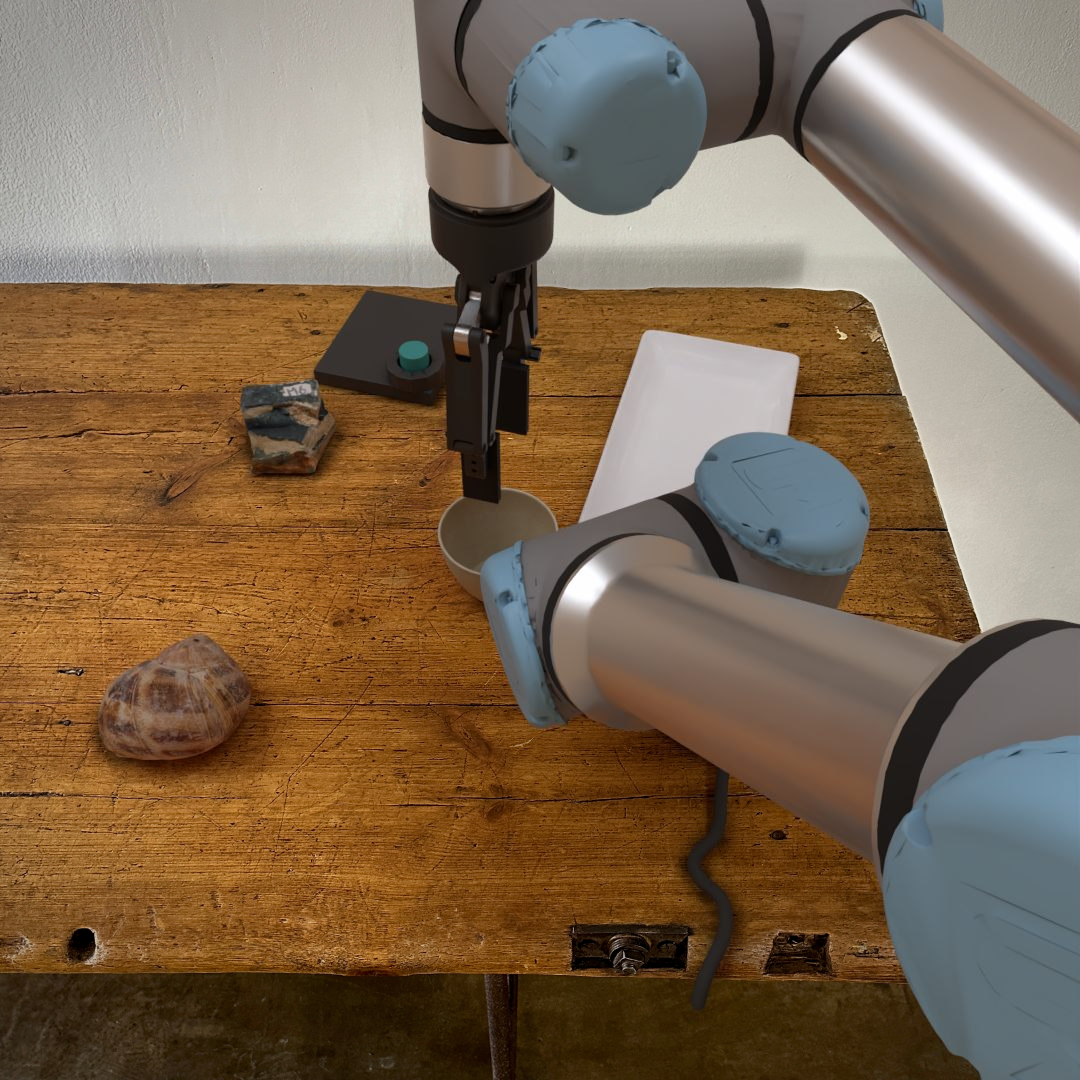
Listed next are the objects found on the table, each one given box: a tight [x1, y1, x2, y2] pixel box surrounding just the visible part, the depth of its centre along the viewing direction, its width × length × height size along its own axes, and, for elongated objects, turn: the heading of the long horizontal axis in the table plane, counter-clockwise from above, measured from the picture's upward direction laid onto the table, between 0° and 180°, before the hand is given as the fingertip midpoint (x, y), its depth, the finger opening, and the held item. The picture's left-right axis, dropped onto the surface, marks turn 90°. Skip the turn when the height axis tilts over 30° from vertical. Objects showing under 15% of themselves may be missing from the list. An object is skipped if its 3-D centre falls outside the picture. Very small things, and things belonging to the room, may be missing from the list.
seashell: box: [97, 633, 252, 761], centre depth 74 cm, size 10×9×10 cm
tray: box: [577, 329, 801, 523], centre depth 95 cm, size 17×31×4 cm, turn 164°
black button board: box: [312, 289, 457, 407], centre depth 105 cm, size 15×13×4 cm
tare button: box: [399, 341, 429, 372], centre depth 100 cm, size 3×3×2 cm
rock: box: [240, 378, 338, 475], centre depth 95 cm, size 9×9×6 cm
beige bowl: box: [437, 486, 559, 603], centre depth 83 cm, size 10×10×7 cm
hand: (497, 461), depth 74 cm, fingers open, 7 cm apart
